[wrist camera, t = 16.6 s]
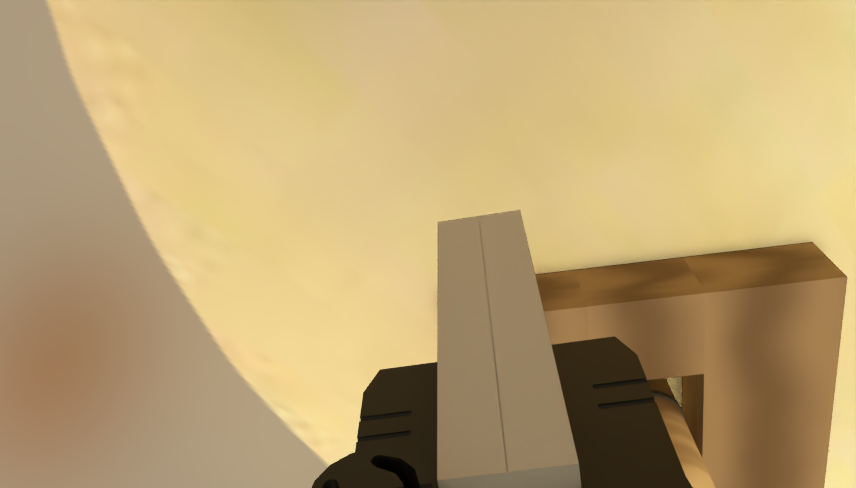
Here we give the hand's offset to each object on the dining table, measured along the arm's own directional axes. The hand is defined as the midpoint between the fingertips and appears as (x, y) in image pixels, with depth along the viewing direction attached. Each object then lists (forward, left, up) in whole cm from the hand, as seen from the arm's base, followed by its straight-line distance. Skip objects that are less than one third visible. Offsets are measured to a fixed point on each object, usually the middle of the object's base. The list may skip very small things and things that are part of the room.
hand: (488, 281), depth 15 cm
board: (-8, +22, -26) cm, 35 cm away
